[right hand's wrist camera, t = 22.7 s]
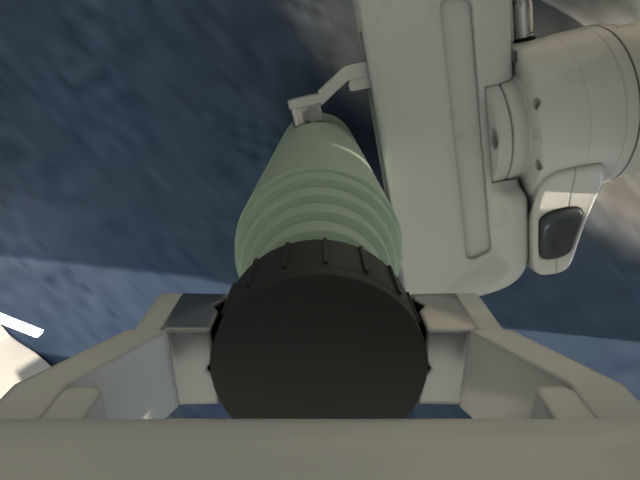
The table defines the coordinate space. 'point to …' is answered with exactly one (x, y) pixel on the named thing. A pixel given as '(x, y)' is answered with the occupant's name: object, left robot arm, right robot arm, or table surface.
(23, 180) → the table surface
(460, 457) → the right robot arm
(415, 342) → the cap
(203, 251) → the table surface
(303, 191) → the bottle
